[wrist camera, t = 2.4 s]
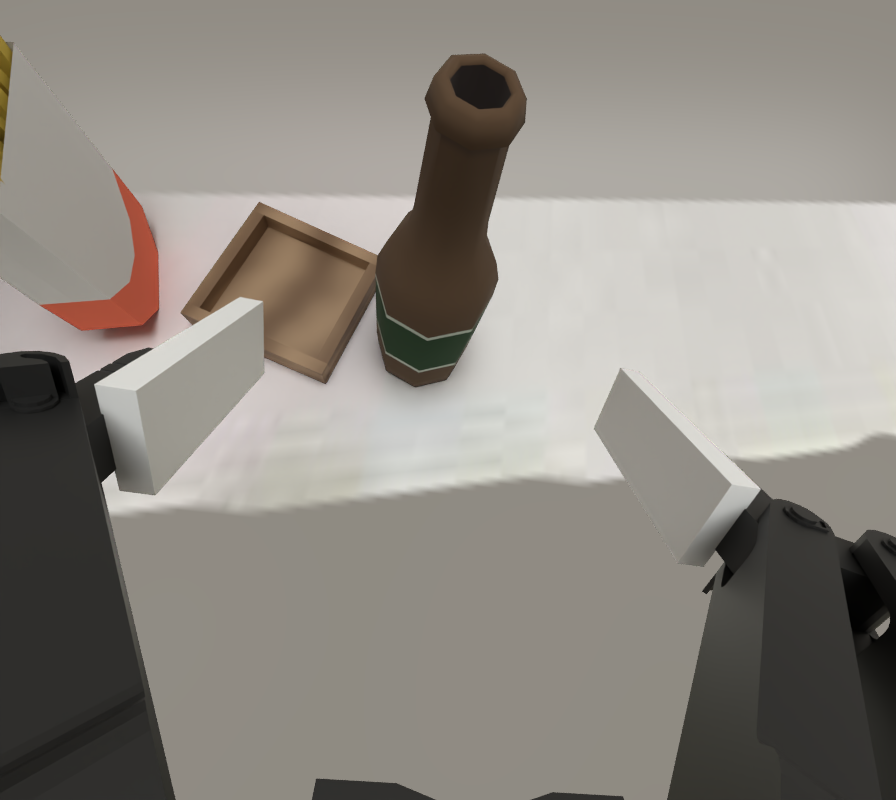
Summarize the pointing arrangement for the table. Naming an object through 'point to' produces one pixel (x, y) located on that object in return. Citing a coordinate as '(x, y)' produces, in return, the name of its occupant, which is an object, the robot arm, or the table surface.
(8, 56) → the french fries container
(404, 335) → the beer bottle
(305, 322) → the wooden tray
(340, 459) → the table surface
